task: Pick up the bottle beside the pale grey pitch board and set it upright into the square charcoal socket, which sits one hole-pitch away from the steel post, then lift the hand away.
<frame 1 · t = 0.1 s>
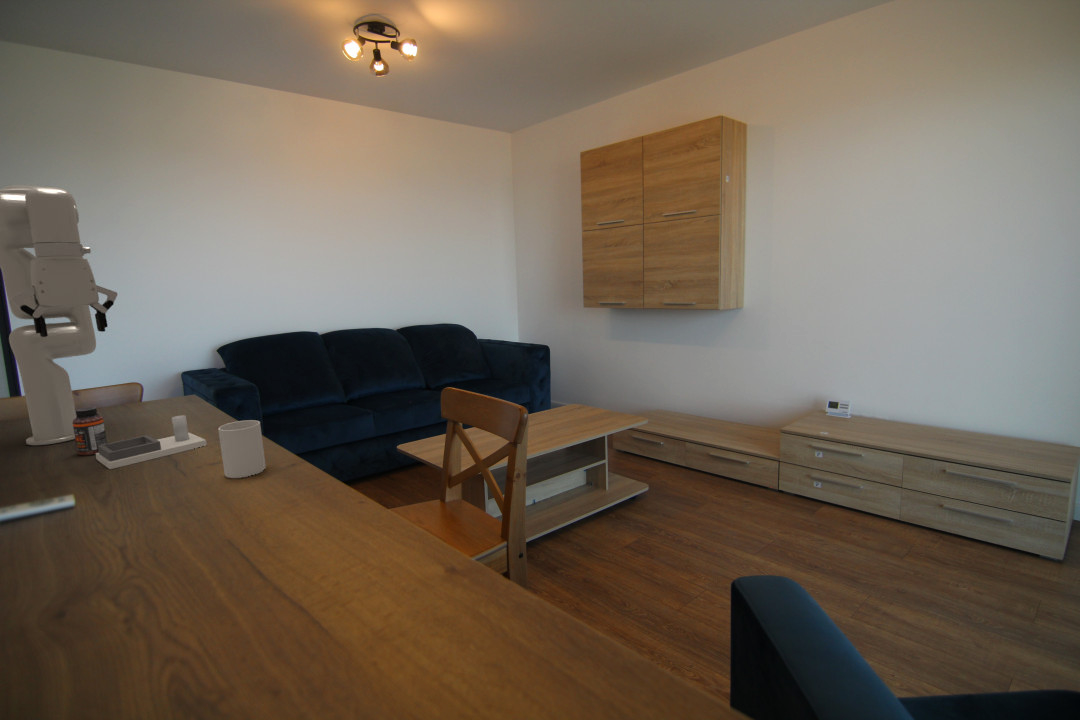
hand: (73, 333, 117), 31 cm above the table, tool pointing down, fingers open, 9 cm apart
pitch board: (153, 452, 135), on the table
supplement bottle: (93, 453, 137), on the table
mug: (242, 470, 120), on the table
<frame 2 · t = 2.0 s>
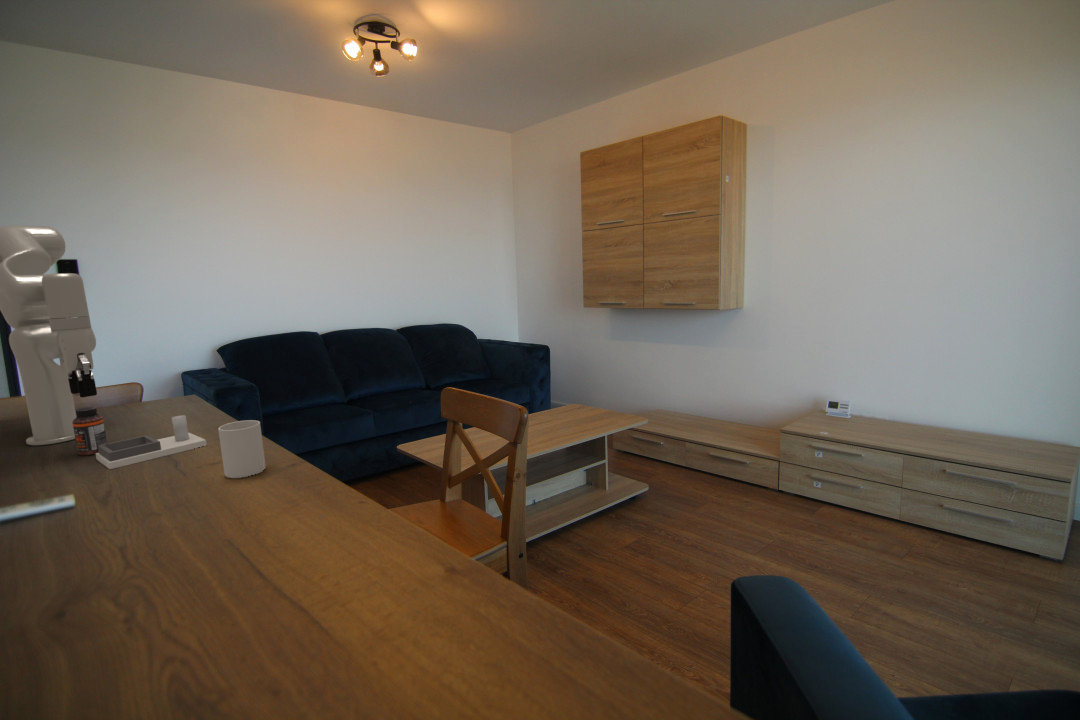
hand: (84, 394, 135), 15 cm above the table, tool pointing down, fingers open, 9 cm apart
nothing on the table moved.
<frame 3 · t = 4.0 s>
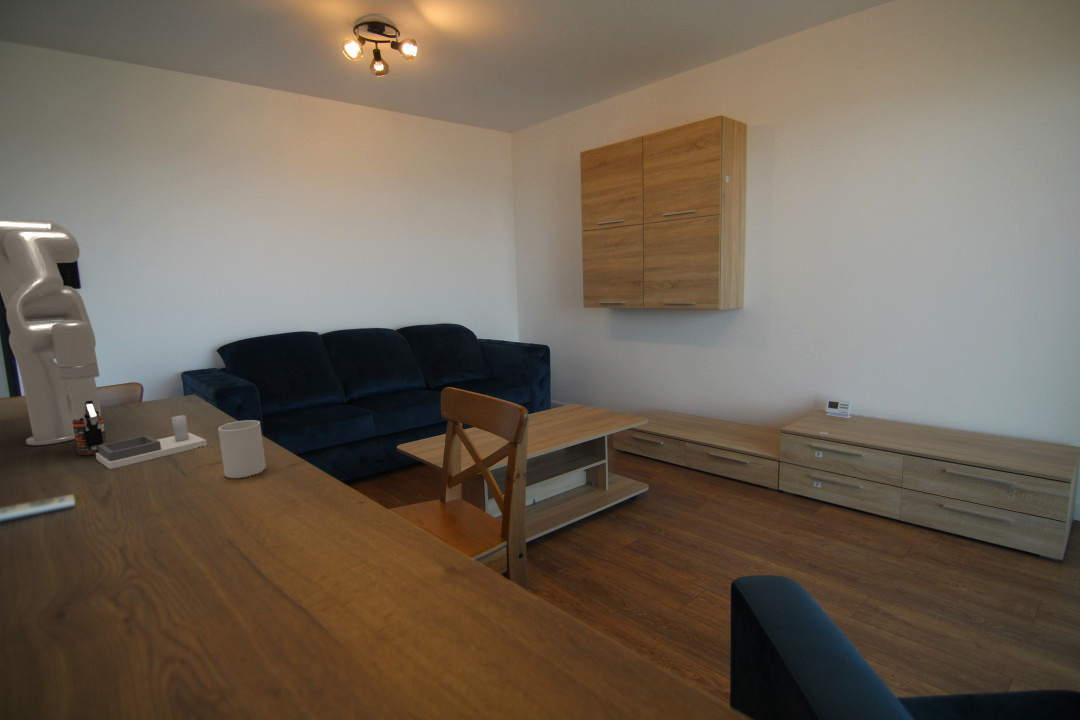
hand: (91, 442, 137), 3 cm above the table, tool pointing down, fingers closed on supplement bottle, 5 cm apart
supplement bottle: (93, 453, 137), on the table, touching gripper
everything else where it was.
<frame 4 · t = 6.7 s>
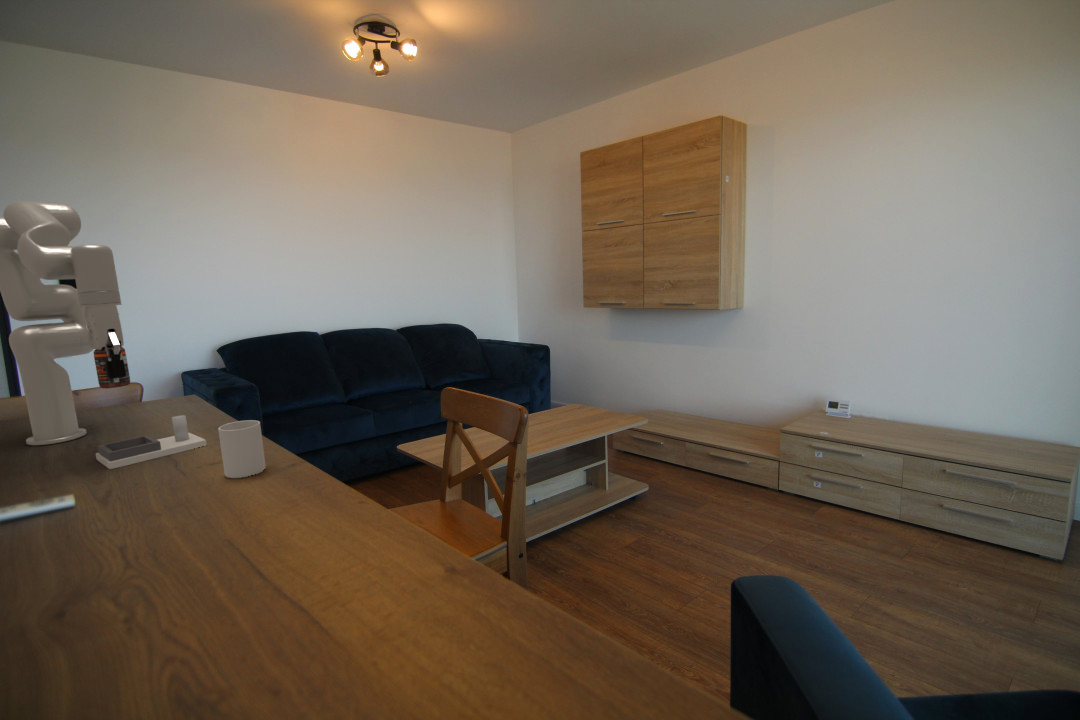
hand: (113, 375, 129), 20 cm above the table, tool pointing down, fingers closed on supplement bottle, 5 cm apart
supplement bottle: (115, 387, 129), point 17 cm above the table, touching gripper
everything else where it was.
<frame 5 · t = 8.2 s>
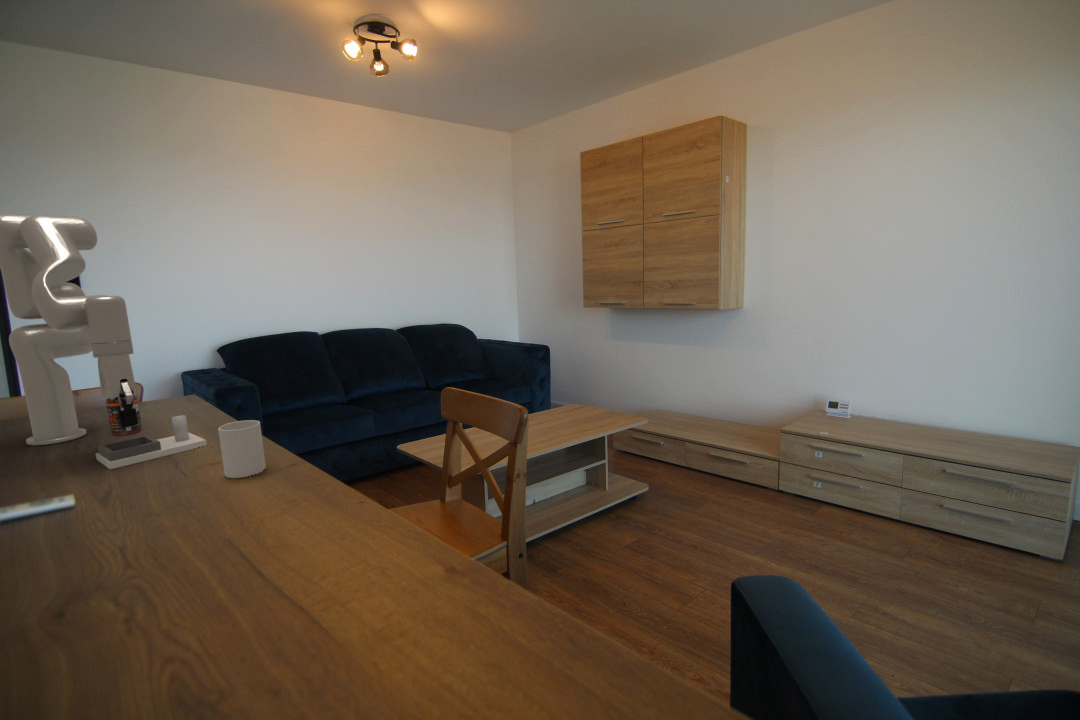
hand: (125, 423, 130), 9 cm above the table, tool pointing down, fingers closed on supplement bottle, 5 cm apart
supplement bottle: (127, 434, 131), point 6 cm above the table, touching gripper
everything else where it was.
when the fingers open (5 cm above the table, at t = 9.2 s): supplement bottle drops 1 cm, resting on pitch board.
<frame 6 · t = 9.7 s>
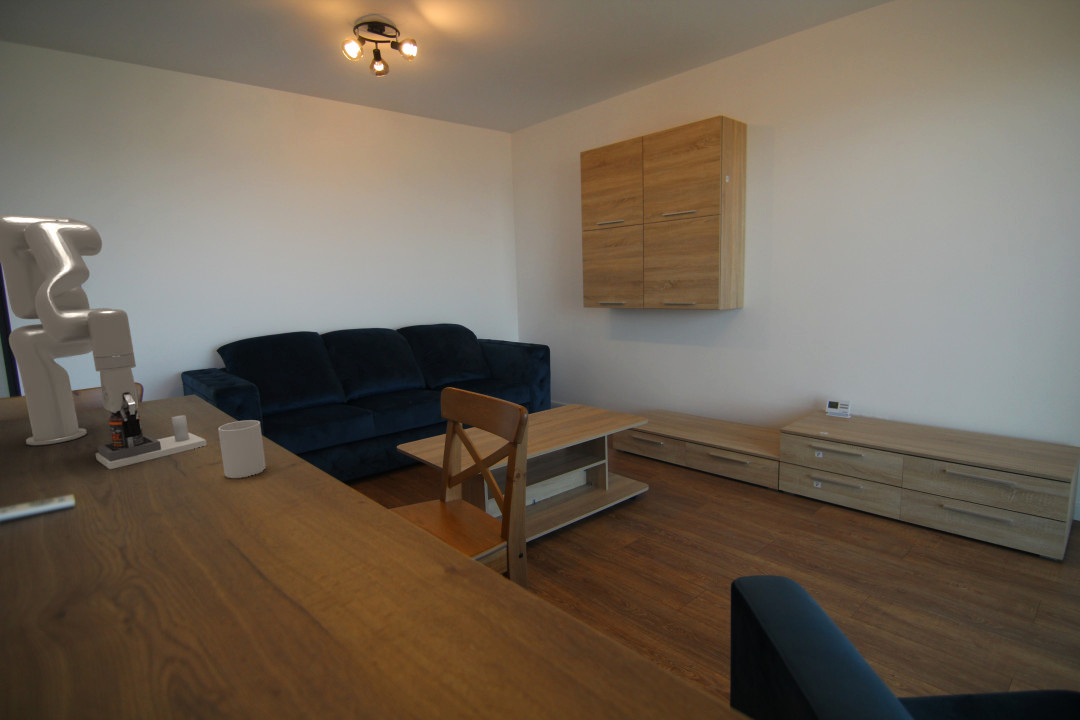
hand: (127, 433, 131), 6 cm above the table, tool pointing down, fingers open, 9 cm apart
supplement bottle: (130, 452, 132), point 1 cm above the table, touching pitch board
everything else where it was.
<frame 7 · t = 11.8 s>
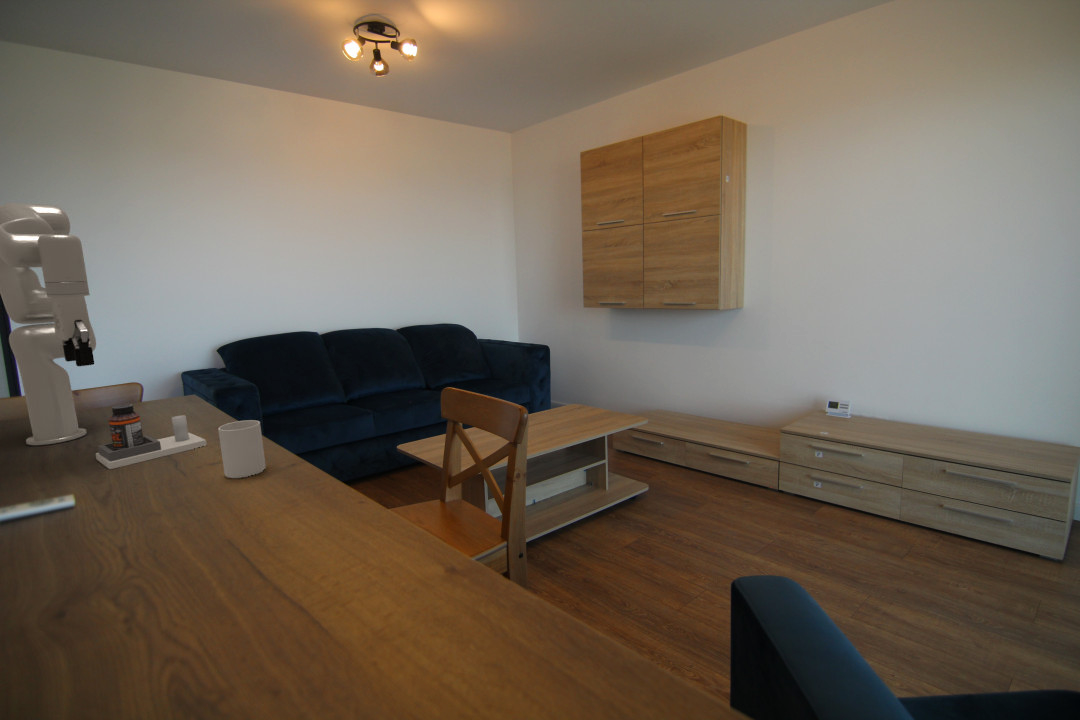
hand: (79, 362, 129), 23 cm above the table, tool pointing down, fingers open, 9 cm apart
nothing on the table moved.
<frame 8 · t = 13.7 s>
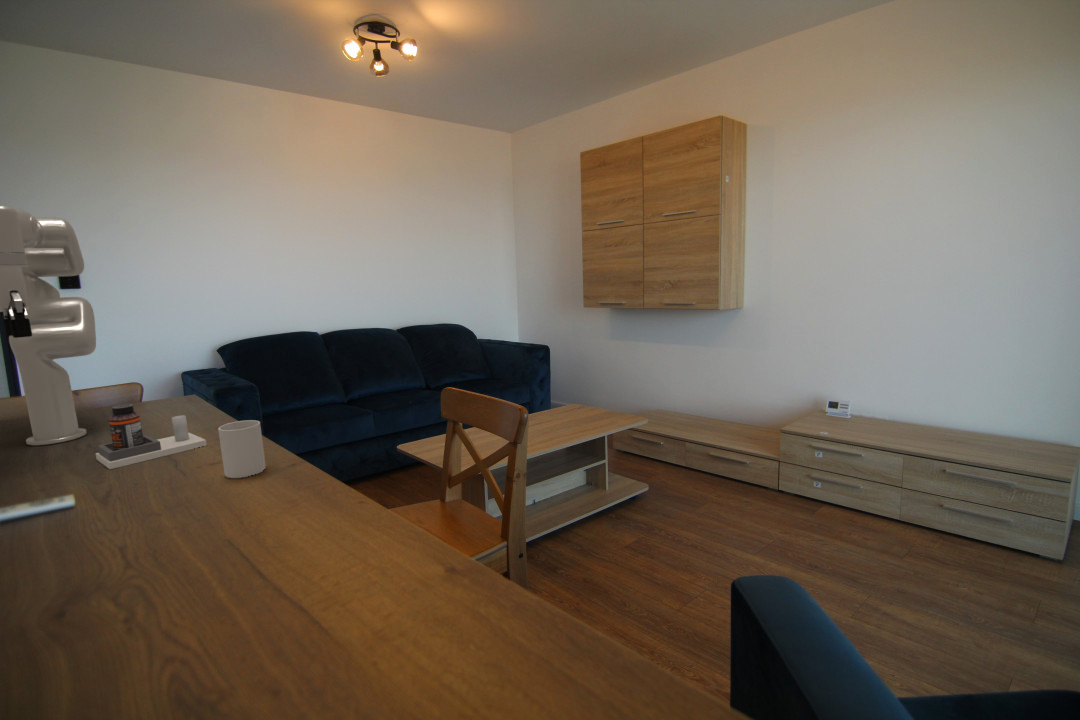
hand: (19, 336, 128), 30 cm above the table, tool pointing down, fingers open, 9 cm apart
nothing on the table moved.
at the end: supplement bottle 0.2 cm from the target spot on the pitch board, point 1.3 cm above the pitch board's base; supplement bottle tilted 0°; the gripper is holding nothing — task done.
